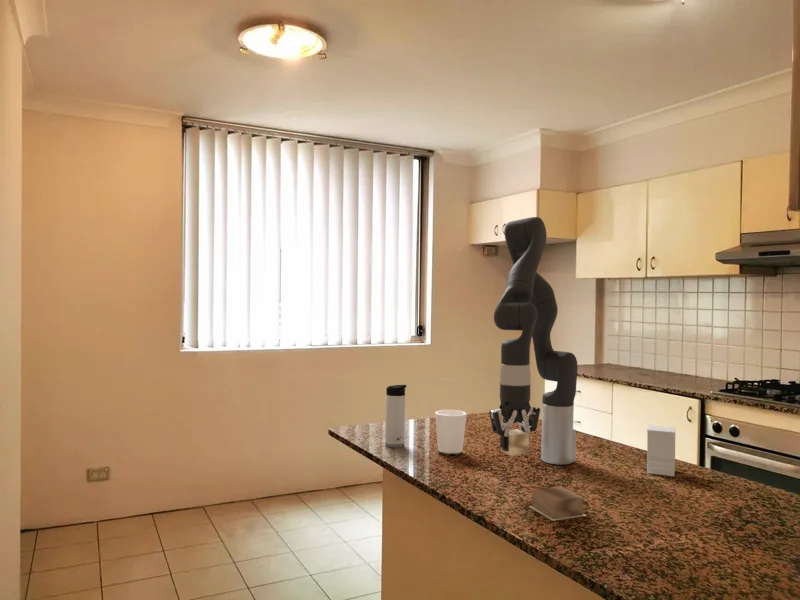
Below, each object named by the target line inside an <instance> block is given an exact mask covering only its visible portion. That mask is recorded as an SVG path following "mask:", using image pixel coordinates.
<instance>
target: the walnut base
mask: <svg viewBox="0 0 800 600" xmlns="http://www.w3.org/2000/svg"><path fill="white" fill-rule="evenodd" d="M531 496H532V499H531V500H532V503H531V504H532V505H531V506H532V507H533V508H535V509H537V510H538V511H540V512H542V513H544V514H545V515H547V516H549V517H550V518H552V519H558V518H565V517H572V516H579V515H583V514H584V496H582V495H580V494H578V493H577V492H575V491H572V490H570V489H568V488H565V487H564V486H562V485H560V486H559V485H558V486H551V487H544V488H536V489H532V495H531Z"/></svg>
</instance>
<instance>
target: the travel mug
mask: <svg viewBox="0 0 800 600" xmlns="http://www.w3.org/2000/svg"><path fill="white" fill-rule="evenodd" d="M406 388H407V384H396V385H394V384H393V385H389V386H387V387H386V394H385V430H384V431H385V432H384V433H385V436H384V437H385V438H384V444H385V446H386V447H387V448H392V449H394V448H395V449H397V448H402V447H404V446H405V434H406V433H405V429H406V428H405V425H406V424H405V422H406Z"/></svg>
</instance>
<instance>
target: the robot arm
mask: <svg viewBox="0 0 800 600" xmlns="http://www.w3.org/2000/svg"><path fill="white" fill-rule="evenodd" d="M503 233H504V239H505V243H506V246H507V250H508V254H509V256H510V258H511V261H512V265H513V266H512V268H511V269H510V270H509V272H508V275H507V279H506V285H505V289H504V292H503V294H502V296H501V298H500V300H499V301H498V303H497V305H496V306H495V309H494V312H493V321H494V324H495V326H496V327H497V328H498V329H499V330H503V331H521V335H520V336H519V337H517V338H511V339H507V340H503V341H502V343H501V346H500V347H501V348H500V352H501V354H500V370H499V400H500V405H499V407H498V408H497V409H494V410H493V409H490V410H489V413H488V414H489V419H490V422H491V429H492V432H493V433H494V434H495V435H496V434H497V435H499V442H500V444H499V447H500V449H501V448H502V450H503V451H505V452H507V451H509V437H508V434H509V431H510V430H512V428H513V425H514V424H517V425H518V426H519V430H521V431H523V432H526V433H528V434H529V435H530V434H531V433H532V432H536V431H537V427H538V423H539V418H540V414H541V442H540V444H541V446H540V447H541V448H540V449H541V450H540V451H541V452H540V460H541V461H542V462H544V463H547V464H550V465H551V464H552V465H570V464H572V463H575V462H576V447H577V445H576V444H577V443H576V442H577V441H576V438H577V435H576V434H577V432H576V429H574V405H575V402H574V401H575V397H576V395H577V382H578V381H577V380H578V371H579V370H578V369H579V368H578V360H577V358H576V355H575V354H574V353H572V352H569V351H560V350H554V348H553V346H552V342H551V341H552V340H551V332H552V330H553V327H554V326H555V325H554V324H555V322H556V320H557V315H558V312H559V311H558V304H557V300H556V299H557V298H556V296H555V293H554V289H553V287H552V286H551V284H550V283H549V282H548V281H547V280H546V279H545V278H544V277H543V276H541V275H540V274H539V273H538V272H537V271H538V267H539V265H540V262H541V260H542V257H543V254H544V251H545V248H546V243H547V237H548V236H547V229H546V225H545V222H544V220H543V219H542V218H541V217H539V216H531V217H525V218H521V219H516V220H512V221H508V222H507V223H506V224H505V225H504V229H503ZM531 343H533V349H534V358H535V362H536V363H535V364H536V369H537V371H538V375H540V376H539V377H541V378H542V380H545V381H549V382H550V381H551V382H556V388H555V389H554V390H552V391H548V392H544V393H543V394H542V397H541V398H542V400H541V403H542V404H541V406H542V407H541V408H540V407H537V406H534V405H532V406H531V404H530V401H531V377H532V376H531V366H530V363H531V362H530V361H531V359H530V357H531V356H530V355H531V351H530V350H531ZM501 415H502V418H501ZM527 416H528V417H527ZM500 419H501V420H500ZM505 452H504V453H505Z"/></svg>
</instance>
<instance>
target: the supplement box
mask: <svg viewBox="0 0 800 600" xmlns="http://www.w3.org/2000/svg"><path fill="white" fill-rule="evenodd" d="M646 431H647V433H646V435H647V437H646V439H647V441H646V442H647V446H646V448H647V451H646V453H647V454H646V465H647V466H646V473H647V474H651V475H658V476H659V475H660V476H666V477H667V476H668V477H675V471H676V469H675V468H676V428H675V427H674V426H663V425H652V424H648V427H647V430H646Z"/></svg>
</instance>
